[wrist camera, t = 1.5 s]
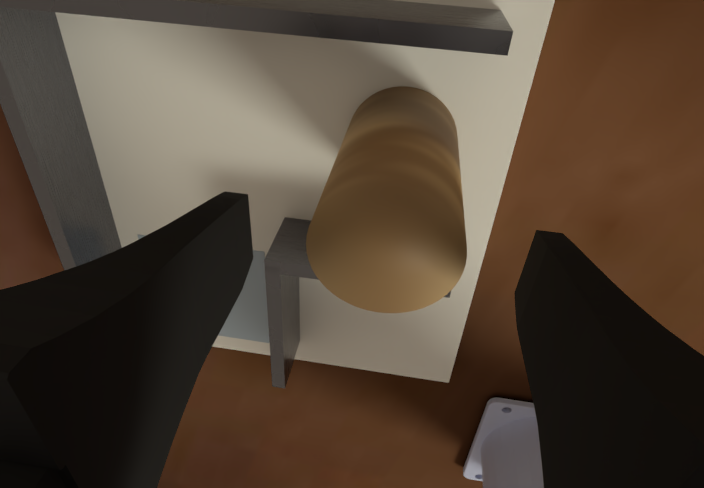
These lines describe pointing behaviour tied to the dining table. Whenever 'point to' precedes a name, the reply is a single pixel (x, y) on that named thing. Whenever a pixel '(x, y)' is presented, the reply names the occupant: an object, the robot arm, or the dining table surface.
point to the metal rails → (208, 11)
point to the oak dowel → (392, 206)
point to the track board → (293, 152)
